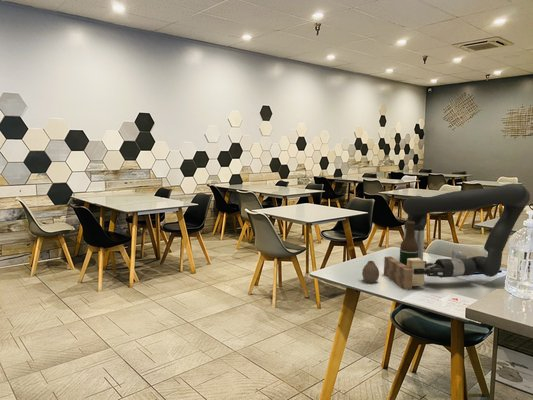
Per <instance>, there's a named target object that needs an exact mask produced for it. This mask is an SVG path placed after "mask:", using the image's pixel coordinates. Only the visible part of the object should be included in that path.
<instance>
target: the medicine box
mask: <svg viewBox="0 0 533 400" xmlns="http://www.w3.org/2000/svg"><path fill="white" fill-rule="evenodd" d="M451 251H452V252H451V259H467V255H466V254H465V253H464V252H463V251H462V250H461V251H460V250H451Z"/></svg>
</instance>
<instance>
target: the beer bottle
mask: <svg viewBox="0 0 533 400" xmlns="http://www.w3.org/2000/svg"><path fill="white" fill-rule="evenodd" d="M405 222H406V221H405ZM406 224H407V227H406V235H405V239H404V238H403V240H402V241H401V244H400V247H399V260H398V261H399V262H401V263H402V264H404V265H406V266H407V258H418V244H417V242H416V241H415V237H414V225H415V222H413V221H407V222H406Z"/></svg>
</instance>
